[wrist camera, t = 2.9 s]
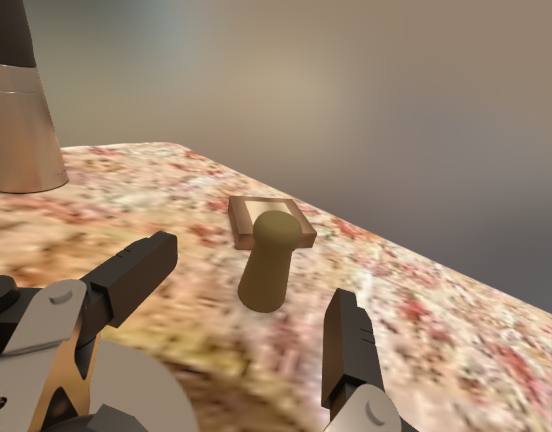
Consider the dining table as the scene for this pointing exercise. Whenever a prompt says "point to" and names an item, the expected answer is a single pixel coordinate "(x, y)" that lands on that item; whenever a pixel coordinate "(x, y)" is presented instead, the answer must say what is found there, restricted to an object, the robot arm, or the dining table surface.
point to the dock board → (250, 208)
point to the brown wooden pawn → (269, 261)
